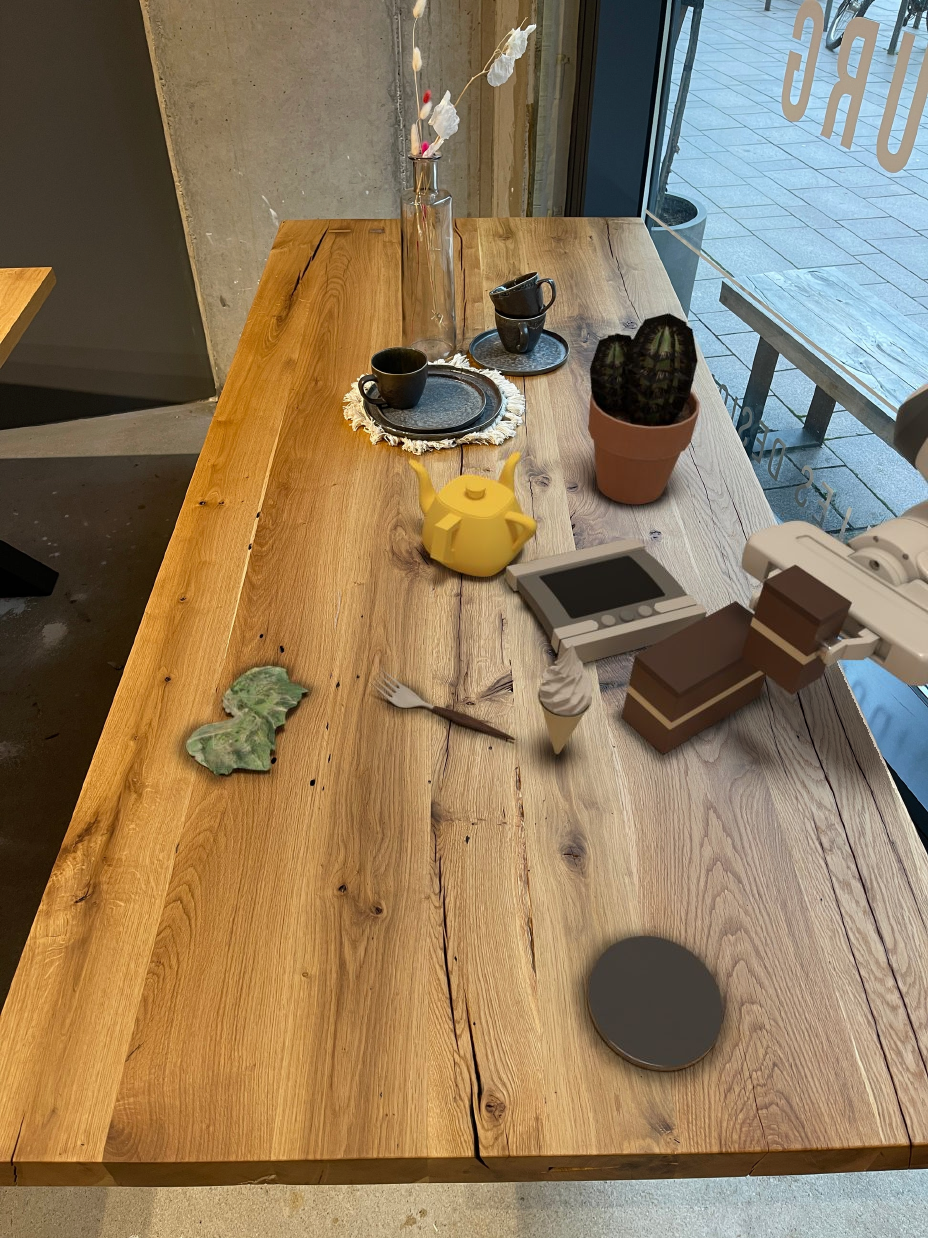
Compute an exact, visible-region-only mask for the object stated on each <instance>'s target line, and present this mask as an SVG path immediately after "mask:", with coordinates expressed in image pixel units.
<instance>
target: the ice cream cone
mask: <svg viewBox="0 0 928 1238" xmlns="http://www.w3.org/2000/svg"><path fill="white" fill-rule="evenodd" d="M554 664H555V665H551V666H549V667H548V669H549V670H550V673H546V672H544V673H542V675H541V676H542V680H543V681H544V682H541V683H540V684H539V686H538V691H537V700H538V703H539V705H540V706H541V710H542V713H543V717H544V721H545V725H546V727H547V730H548V735H549V738H550V741H551V744H552V748H553V751H554V754H555V755H560V752H561V751H562V750H563V748H564V746H565V745H566V744H567V742H568V740H569V739H570V737H571V736H572V734H573V733H574V731H575V730H576V728H577V726H578V724H580V721H581V720H582V719H583V716H584V715H585V714H586V713H587V712H588V711H589V709H590V708H591V707H592V703H593V679H592V678H591V677H590V675H589V673H588V672H587V671H586V669H585V668H584V663H582V662H581V661H580V660H579V659H578V657H577V654H576V652H575V650H574V647H573V645H571V647H570V648H569V649H568V650H567V651H566V653H565V654H564V655H563V656H562V658H561V659H560V660H558V661H557V660H556V661H554Z"/></svg>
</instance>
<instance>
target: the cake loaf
mask: <svg viewBox="0 0 928 1238" xmlns="http://www.w3.org/2000/svg"><path fill="white" fill-rule="evenodd" d="M753 615H754V612H753V611H751V610H749V609H747V608H746V607H745V606H743V605H742V604H741V603H740V602H738V601H736V600H734V601H733V602H731V603H729V604H726V605H725V606H724V607H723V606H722V608H720V609H718V610H716V611H714V612H712V613H710V614H708V615H706V617H705V618H703V619H701V620H699V621H697V622H695V623H694V624H692V625H690V626H688V627H686V628H684V629H682V630H680V631H679V632H677V633H675V634H673V635H671V636H669V637H667V638H666V639H664V640H662V641H660V642H658V643H656V644H654V645H650V646H648V647H647V648H644V649H643V650H642V651H641V650H640V651H639V652H638V653H636V654H634V657H633V663H632V666H631V667H632V668H631V672H630V677H629V680H628V681H629V682H628V686H627V690H626V696H625V700H624V703H623V704H624V705H623V710H622V713H621V718H622V719H623V720H625V721H626V722H627V724H629V725H630V726H631V727H632V728H633V729H634V730H635V731H637V732H638V734H640V735H641V736H642V737H643V738H644V739H645V740H646V741H647V742H648V743H649V744H650V745H651V746H652V747H654V749H656V750H657V751H658V752H659V754H661V755H665V754H668V753H669V752H671V750H673V749H675V748H677V747H679V746H680V745H682V744H683V743H686V742H687V741H688V740H690V739H692V738H693V737H695V736H696V735H698V734H699V733H702V732H703V731H704V730H705V731H706V729H708V728H709V727H711V726H713V725H714V724H717V722H719V721H721V720H723V719H724V718H726V717H728V716H729V715H731V714H732V713H734V712H736V711H738V710H739V709H740V708H742V707H744V706H745V705H747V704H749V703H750V702H752V701H754V700H755V699H757V698H758V697H760V695H761V692H762V690H763V687H764V684H765V681H766V678H767V676H766V675H765V674H764V673H762V672H761V671H760V670H759V669H757V668H756V667H755V666H754V665H752V664H751V663H750V662H748V661H747V660H746V659H745V658H743V657H742V656H741V653H742V650H743V647H744V644H745V641H746V637H747V634H748V631H749V628H750V625H751V622H752V619H753Z"/></svg>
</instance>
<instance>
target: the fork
mask: <svg viewBox="0 0 928 1238" xmlns="http://www.w3.org/2000/svg"><path fill="white" fill-rule="evenodd" d="M379 669H380V671H382V673H383V674H385V676H387V677H388V678H389V679H390V680H391V681H392V682H393V683H394V684H395V685H397V686H395V685H394V684H393V683H391V682H390V681H389V680H387V679H386V678H385V677H384V676H383V675H381V673H379V672H376V674H377V675H378V676H379V677H380V678H381V679H382V680H383V681H384V682H385V683H386V684H387V685H388V686H389V687H390V688H391V689H393V690H394V691H395V692H394V691H393V690H391V689H390V688H389V687H387V686H386V685H384V683H382V682H381V681H380V680H378V679H377V678H376V677H375V676H373V679H374V681H376V682H377V683H378V684H379V685H380V686H381V687H382V688H383V689H384V690H385V691H387V692H388V693H389V694H390V695H391V696H390V695H388V694H387V693H386V692H384V690H382V689H381V688H379V687H378V686H377V685H375V684H374V683H373V682H372V681H369V684H371V685H372V686H373V687H374V688H375V689H376V690H377V691H378V692H379V693H380V694H381V695H382V696H384V697H385V698H386V699H387V700H388V701H389V702H391V703H392V704H393V705H394V706H396V707H398V708H401V709H410V708H416V707H425V708H428V709H430V710H432V711H434V712H436V713H437V714H439V715H441V716H443V717H445V718H447V719H449V720H450V721H453V722H455V723H457V724H460V725H462V726H464V727H467V728H471V729H474V730H478V731H481V732H485V733H488V734H492V735H494V736H497V737H500V738H503V739H507V740H511V741H516V738H515V737H513V736H512V735H510V734H507V733H506V732H504V731H502V730H500V729H497V728H495V727H493V726H491V725H489V724H487V723H485V722H483V721H481V720H479V719H477V718H475V717H473V716H470V715H468V714H466V713H463V712H460V711H457V710H453V709H449V708H445V707H441V706H438V705H434V704H431V703H428V702H426V701H424V700H423V699H422V698H421V697H419V696H418V694H416V693H415V692H414V691H413V690H412V689H410V688H409V687H407V686H406V685H404V684H402V683H400V682H399V681H397V680H396V679H395V678H394V677H393V676H391V675H390V674H389V673H388V672H387V671H386V670H384V669H383V668H382V667H380V668H379Z"/></svg>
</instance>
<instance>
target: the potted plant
mask: <svg viewBox="0 0 928 1238" xmlns="http://www.w3.org/2000/svg"><path fill="white" fill-rule="evenodd" d="M696 348H697V347H696V343H695V335H694V331H693V328H692V327H690V326H688V323H687V321H686V320H683V319H681V318H679V317H678V316H675V315H673V314H671V313H670V312H667V313H664V314H660V315H656V316H652V317H648V318H645V319H644V320H643V322H642V323H641V325H639V327H638V329H637V330H636V333H635V335H634V336H633V338H632V336H631V335H630V334H621V333H618V332H616V333H614V334H608V335H607V337H604V338H602V339H599V340H598V343H597V346H596V349H595V351H594V355H593V358H592V360H591V363H590V367H589V378H590V391H591V393H590V400H589V412H588V415H589V416H588V425H587V426H588V427H587V430H588V432H589V435H590V437H591V439H592V440H593V449H594V461H595V472H596V473H595V474H596V484H597V487H598V490H599V491H600V492H601V493H602V494H603V495H604V496H606V497H608V498H609V499H611V500H612V501H615V502H617V503H620V504H625V505H626V504H627V505H644V504H648V503H652V502H654V501H656V500H657V499H659V498H660V497H661V495H663V493H664V491H665V489H666V487H667V484H668V482H669V480H670V477H671V475H672V474H673V471H674V468H675V466H676V464H677V462H678V460H679V458H680V456H681V453H683V452H684V451H685V450H686V449H687V448H688V447H689V445H690V444H691V442H692V438H693V435H694V431H695V427H696V424H697V420H698V417H699V413H700V402H701V401H699V399H698V397H697V395H696V393H695V392H693V391H692V387H693V384H694V380H695V379H694V378H695V374H696V370H697V365H698V361H699V359H698V353H697V349H696Z"/></svg>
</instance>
